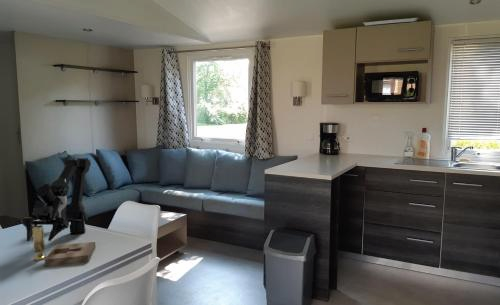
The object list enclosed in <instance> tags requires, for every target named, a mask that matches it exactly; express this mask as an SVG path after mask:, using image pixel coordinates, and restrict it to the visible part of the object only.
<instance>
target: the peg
mask: <svg viewBox="0 0 500 305" xmlns="http://www.w3.org/2000/svg"><path fill="white" fill-rule="evenodd" d="M32 231H33V235H32V241H33V242H32V243H33V251H34V253H37V255H35V256H34V258H33V259H34V261H36V262H39V261H43V260H45V258H46V257H47V254H43V252H44V251H45V250H46V246H45V245H46V244H45V233H44V231H45V230H44V226H43V225H37V226H34V227H32ZM38 260H39V261H38Z"/></svg>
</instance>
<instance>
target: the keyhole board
mask: <svg viewBox="0 0 500 305" xmlns="http://www.w3.org/2000/svg"><path fill="white" fill-rule="evenodd" d="M95 250H96V241H89V242H79V243H67V244H57V245H55V246H54V247H53V248H52V250H50V251H49V253H48V255H46V258H45V259H44V267H45V266H46V267H53V266H56V267H57V266H65V265H73V264H83V263H90V261H91V259H92V257H93V254H94V252H95Z"/></svg>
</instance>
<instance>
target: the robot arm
mask: <svg viewBox="0 0 500 305" xmlns="http://www.w3.org/2000/svg"><path fill="white" fill-rule="evenodd" d="M91 165H92V164H91V160H90V159H89V158H88V157H76V158H70V159H67V160H66V164H65V166H64V168H63V170H62V171H61V173H60V175H59V177H58V178H57V179H56V180H54V181H53V182H51V184H49V183H43V185H42V186H40V187H39V188H37V190H36V191H35V194H36V197H38V198H39V200H40V201H41V202H43V203H44V204H45V205H44V207H43V206H42V207H34V208H33V211H32V217H31V216H30V217H29V216H27V217H26V216H25V217H23V218H22V219H21V221H20V224H22V225H23V226H24V228H26V241H27V242H30V241H31V239H32V238H33V231H32V227H34V226H39V225H42V226H43V225H48V226H49V225H51V226H52V229H51V231H50V234H49V236H48V238H47V241H48V242H51V241H52V240H53V239H54V238H55V237H56V236H58V235H59V233H60V232H62V231H64V230H66V229H69V233H70V235H71V236H73V235H83V234H85V233H86V230H87V228H86V223H85V222H87V221H88V219H89V215H88V214H87V213H86V210H85V206H84V204H83V194H84V187H85V181H86V180H85V178H86V175H87V174H88V173H89V171H90V168H91ZM73 175H74V178H73ZM72 178H73V186H72V193H71V194H72V196H71V200H70V203H69V204H68V203H67V204H66V206H65V211H64V212H65V214H64V215H65V216H61V217H59V216H58V215H59V212H58V209H59V206H60V205H63V202H62V200H61V199H60V198H59V197H63V196H66V197H67V195H68V193H69V190H70V186H69V183H70V181H71V179H72ZM33 216H36V219H34V217H33ZM65 228H66V229H65Z"/></svg>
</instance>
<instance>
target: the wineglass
mask: <svg viewBox="0 0 500 305" xmlns="http://www.w3.org/2000/svg"><path fill="white" fill-rule="evenodd" d="M59 198H60V199H61V200H62V202H63V205H60V206H59V209H58V211H57V213H58V215H59V216H58V217H62V214H61V213H62V211H63V209H64V208H65V209H66V206H67V205H68V200H67V199H68V198H67V195H66V196H63V197H59ZM64 230H67V228H65V229H64Z"/></svg>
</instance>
